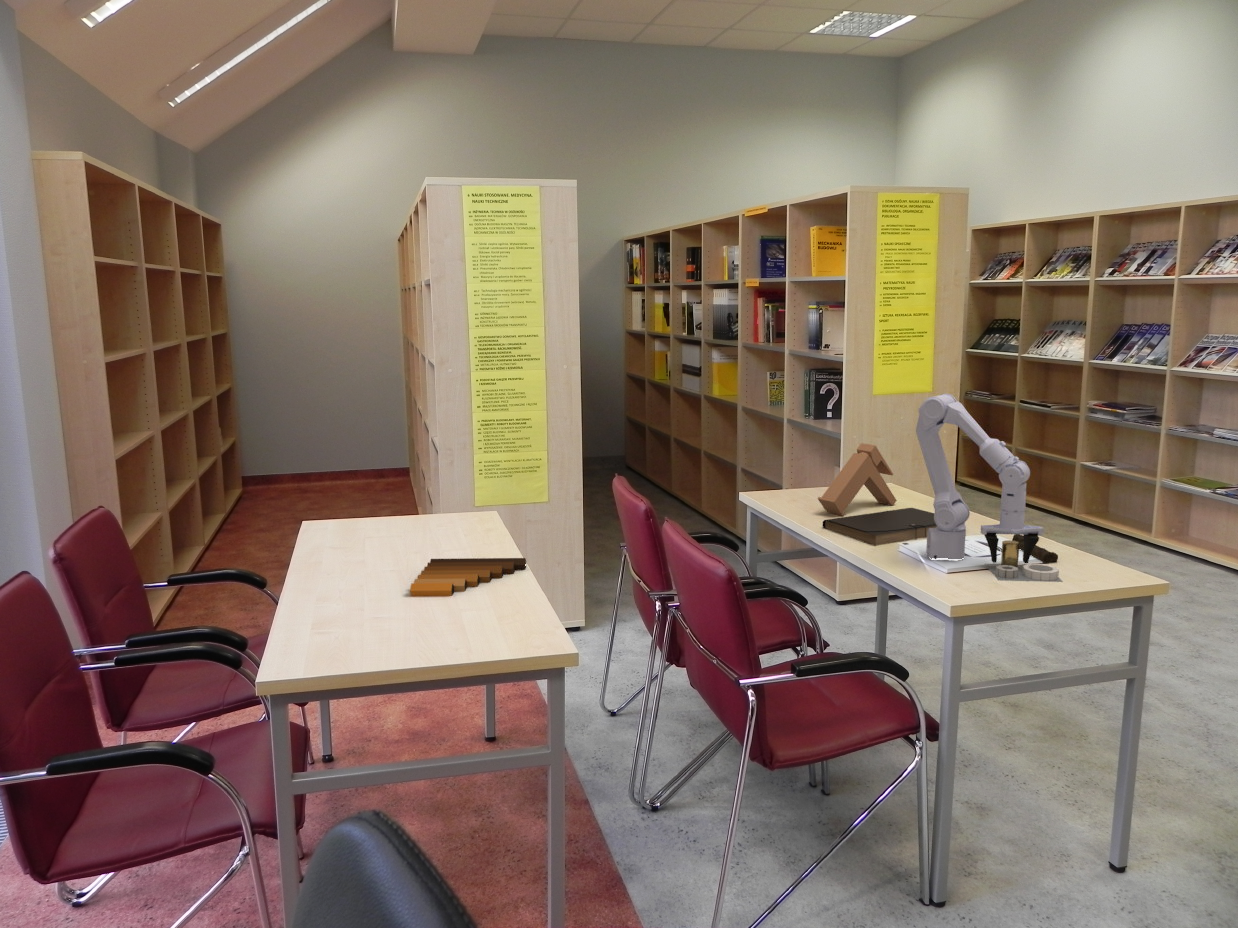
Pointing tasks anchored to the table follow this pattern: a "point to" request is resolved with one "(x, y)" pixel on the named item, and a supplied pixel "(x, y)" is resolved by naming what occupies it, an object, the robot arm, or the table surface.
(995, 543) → the robot arm
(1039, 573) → the fitting board
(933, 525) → the dark brown book
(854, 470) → the wooden a-frame
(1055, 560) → the brown wooden stick
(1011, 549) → the round peg
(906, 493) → the table surface
